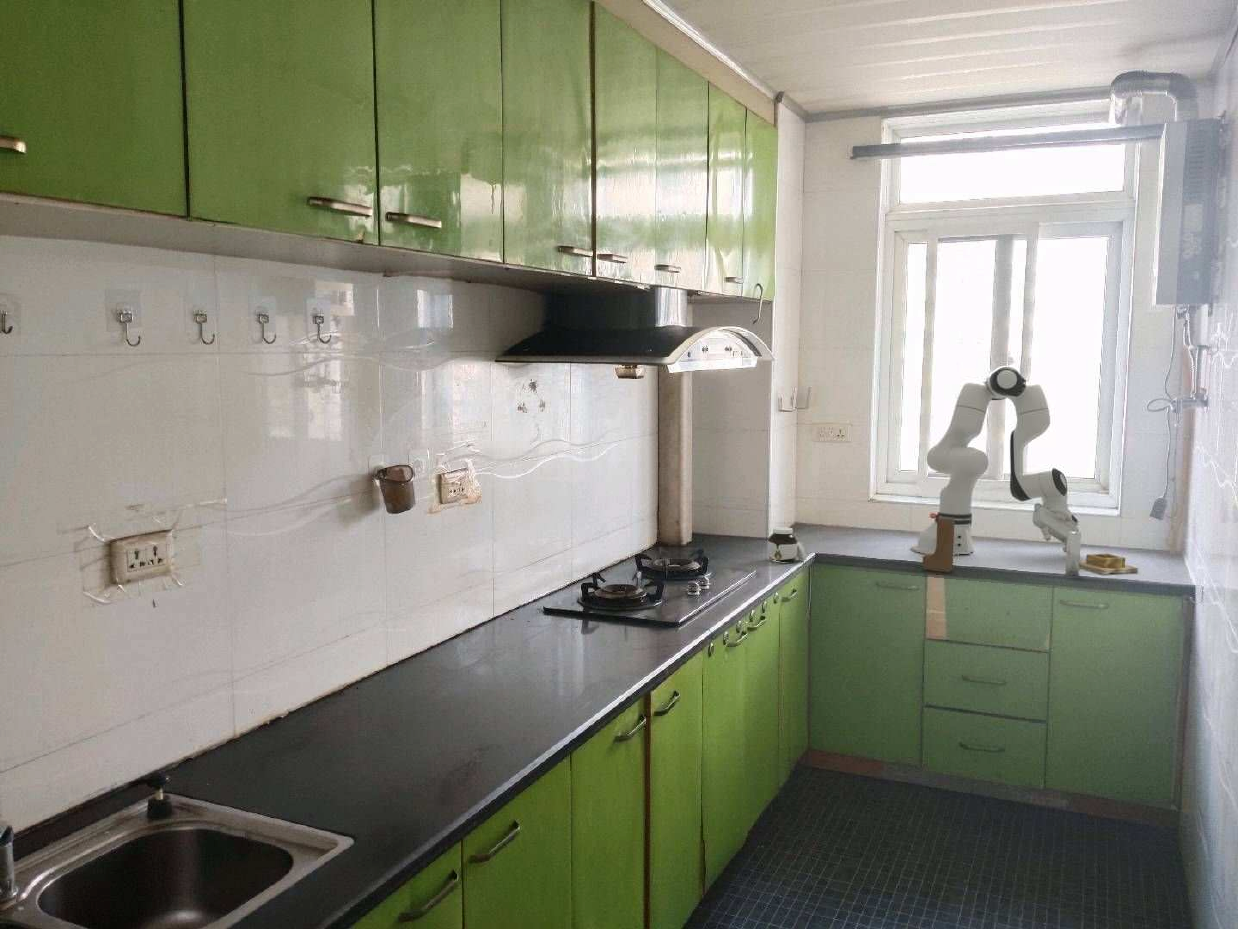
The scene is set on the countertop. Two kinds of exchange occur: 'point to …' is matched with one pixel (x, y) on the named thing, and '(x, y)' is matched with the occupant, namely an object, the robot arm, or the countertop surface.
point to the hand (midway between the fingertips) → (1056, 545)
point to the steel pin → (1073, 553)
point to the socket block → (1106, 564)
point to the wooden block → (942, 547)
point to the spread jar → (784, 546)
